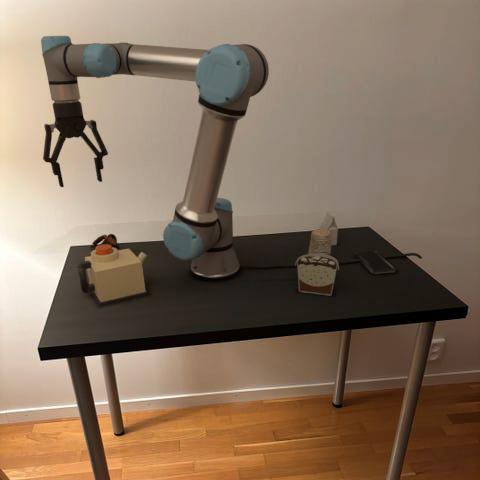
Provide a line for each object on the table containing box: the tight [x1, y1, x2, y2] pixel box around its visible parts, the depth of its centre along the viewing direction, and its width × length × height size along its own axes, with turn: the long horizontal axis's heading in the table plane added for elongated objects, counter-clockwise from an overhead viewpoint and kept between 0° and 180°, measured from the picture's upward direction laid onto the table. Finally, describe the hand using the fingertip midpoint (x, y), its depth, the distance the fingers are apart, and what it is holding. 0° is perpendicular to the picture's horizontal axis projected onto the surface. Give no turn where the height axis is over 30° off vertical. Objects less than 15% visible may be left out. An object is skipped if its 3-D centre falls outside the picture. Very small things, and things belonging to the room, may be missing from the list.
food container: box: [294, 253, 340, 297], centre depth 141 cm, size 12×6×10 cm, turn 71°
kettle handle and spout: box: [76, 251, 149, 307], centre depth 142 cm, size 20×13×11 cm, turn 119°
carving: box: [307, 228, 332, 256], centre depth 155 cm, size 6×8×12 cm
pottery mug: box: [89, 233, 122, 252], centre depth 169 cm, size 12×10×8 cm
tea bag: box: [320, 211, 339, 246], centre depth 174 cm, size 4×7×10 cm, turn 12°
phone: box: [355, 251, 397, 275], centre depth 158 cm, size 8×1×15 cm
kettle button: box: [96, 244, 112, 255], centre depth 140 cm, size 4×4×2 cm
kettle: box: [84, 247, 147, 302], centre depth 142 cm, size 13×12×12 cm
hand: (81, 183), depth 145 cm, fingers open, 10 cm apart
